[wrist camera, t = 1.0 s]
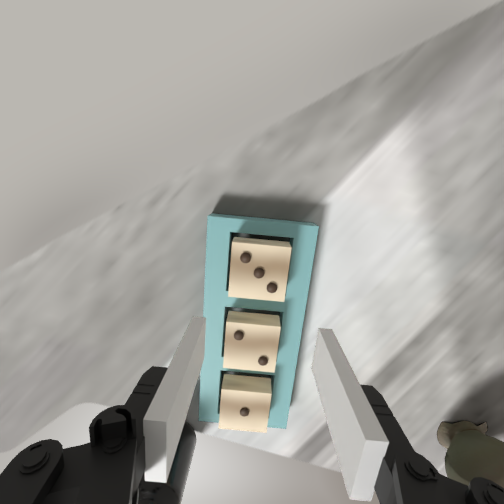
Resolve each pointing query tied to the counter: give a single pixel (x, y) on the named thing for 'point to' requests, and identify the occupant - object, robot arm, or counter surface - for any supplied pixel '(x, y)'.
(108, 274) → the counter surface
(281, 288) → the key three
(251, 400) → the key one
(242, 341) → the key two
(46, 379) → the counter surface
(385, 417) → the robot arm
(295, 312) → the teal puzzle board
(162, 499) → the supplement bottle
